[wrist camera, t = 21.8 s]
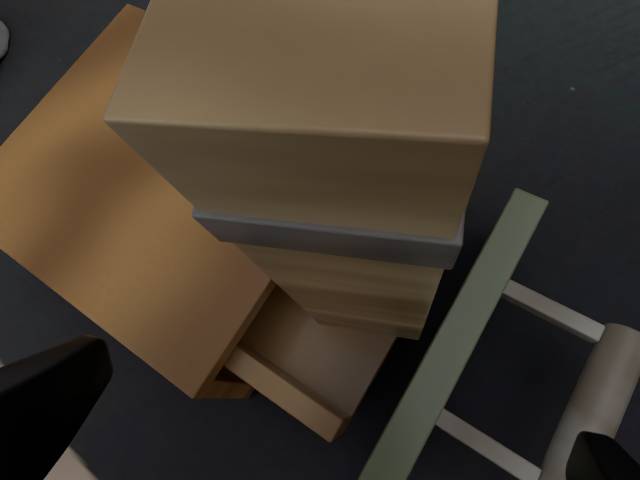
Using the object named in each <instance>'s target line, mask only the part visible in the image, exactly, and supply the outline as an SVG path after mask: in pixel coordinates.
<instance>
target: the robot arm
mask: <svg viewBox="0 0 640 480" xmlns="http://www.w3.org/2000/svg"><path fill="white" fill-rule="evenodd" d="M112 374H113V365H112V361H111V357H110V353H109V349H108V346H107V342H106V341H105V340H104V339H103V338H101V337H96V336H91V335H83V336H80V337H77V338H75V339H72V340H70V341H67V342H65V343H62V344H60V345H57V346H54V347H52V348H49V349H47V350H44V351H42V352H39V353H37V354H34V355H31V356H29V357H26V358H24V359H21V360H19V361H16V362H13V363H11V364H8V365H6V366H3V367H1V368H0V480H43V479H44V478H45V477H46V476H47V474H48V473H49V472H50V470H51V469H52V467H53V466H54V465H55V463H56V462H57V461H58V460H59V458H60V457H61V456H62V454H63V453H64V451H65V450H66V449H67V447H68V446H69V444H70V443H71V441H72V440H73V438H74V437H75V435H76V434H77V432H78V430H79V429H80V427H81V426H82V424H83V423H84V421H85V419H86V418H87V416H88V415H89V413H90V411H91V410H92V408H93V407H94V405H95V404H96V402H97V400H98V399H99V397H100V396H101V394H102V392H103V391H104V389H105V388H106V386H107V384H108V383H109V381H110V379H111V377H112ZM565 476H566V480H640V465H639V464H638V463H637V462H636V461H635V460H634V459H633V458H632V457H631V456H630V455H629V454H628V453H627V452H626V451H625V450H624V449H623V448H622V447H621V446H620V445H619V444H618V443H617V442H616V441H615V440H614V439H613V438H611V437H610V436H608V435H605V434H599V433H594V432H589V431H581V432H580V433H579V434H578V435H577V437H576V440H575V442H574V445H573V448H572V450H571V453H570V456H569V458H568V461H567V464H566V471H565Z"/></svg>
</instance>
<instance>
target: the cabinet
mask: <svg viewBox="0 0 640 480" xmlns="http://www.w3.org/2000/svg"><path fill="white" fill-rule="evenodd" d="M145 13H146V11H145V10H142V9H139V8H137V7H134V6H132V5H129V4H127V5H126V6H125V7H124V8H123V9H122V10H121V12H120V13H119V14H118V15H117V16H116V17H115V18H114V19H113V21H112V22H111V23H110V24H109V25H108V26H107V27H106V28H105V30H104V31H103V32H102V33H101V34H100V35H99V36H98V37H97V39H96V40H95V41H94V42H93V43H92V44H91V45H90V46H89V48H88V49H87V50H86V51H85V52H84V53H83V54H82V55H81V57H80V58H79V59H78V60H77V61H76V62H75V63H74V64H73V66H72V67H71V68H70V69H69V70H68V71H67V72H66V73H65V75H64V76H63V77H62V78H61V79H60V80H59V81H58V82H57V83H56V85H55V86H54V87H53V88H52V89H51V90H50V91H49V92H48V94H47V95H46V96H45V97H44V98H43V99H42V100H41V101H40V103H39V104H38V105H37V106H36V107H35V108H34V109H33V110H32V112H31V113H30V114H29V115H28V116H27V117H26V118H25V119H24V121H23V122H22V123H21V124H20V125H19V126H18V127H17V128H16V130H15V131H14V132H13V133H12V134H11V135H10V136H9V137H8V139H7V140H6V141H5V142H4V143H3V144H2V145H1V146H0V249H1V250H3V251H4V252H5V253H7V254H8V255H9V256H10V257H12V258H13V259H14V260H16V261H17V262H18V263H19V264H21V265H22V266H23V267H24V268H26V269H27V270H28V271H30V272H31V273H32V274H33V275H35V276H36V277H37V278H39V279H40V280H41V281H42V282H44V283H45V284H46V285H47V286H49V287H50V288H51V289H53V290H54V291H55V292H56V293H58V294H59V295H60V296H61V297H63V298H64V299H65V300H67V301H68V302H69V303H70V304H72V305H73V306H74V307H76V308H77V309H78V310H79V311H81V312H82V313H83V314H84V315H86V316H87V317H88V318H90V319H91V320H92V321H93V322H95V323H96V324H97V325H98V326H100V327H101V328H102V329H104V330H105V331H106V332H107V333H109V334H110V335H111V336H113V337H114V338H115V339H116V340H118V341H119V342H120V343H121V344H123V345H124V346H125V347H127V348H128V349H129V350H130V351H132V352H133V353H134V354H136V355H137V356H138V357H139V358H141V359H142V360H143V361H144V362H146V363H147V364H148V365H150V366H151V367H152V368H153V369H155V370H156V371H157V372H158V373H160V374H161V375H162V376H164V377H165V378H166V379H167V380H169V381H170V382H171V383H173V384H174V385H175V386H176V387H178V388H179V389H180V390H181V391H183V392H184V393H185V394H187V395H188V396H189V397H190V398H192V399H201V398H202V399H248V398H249V397H250V395H251V394H252V392H253V391H254V389H255V388H253V387H252V386H251V385H249V384H248V383H246V382H245V381H244V380H242V379H241V378H239V377H238V376H237V375H235V374H234V373H233V372H231V371H230V370H228V369H227V368H226V367H224V366H223V365H224V364H225V362H226V361H227V359H228V358H229V356H230V354H231V353H232V351H233V350H234V348H235V347H236V345H237V344H238V342H239V341H240V339H241V338H242V336H243V334H244V333H245V331H246V330H247V328H248V327H249V325H250V324H251V322H252V321H253V319H254V318H255V316H256V315H257V313H258V311H259V310H260V308H261V307H262V305H263V304H264V302H265V301H266V299H267V298H268V296H269V295H270V293H271V292H272V290H273V288H274V287H275V285H276V283H275V282H274V281H273V280H272V279H271V278H270V277H269V276H268V275H267V274H265V273H264V272H263V271H262V270H261V269H260V268H259V267H258V266H257V265H256V264H255V263H254V262H253V261H252V260H251V259H250V258H248V257H247V256H246V255H245V254H244V253H243V252H242V251H241V250H240V249H239V248H238V247H237V246H236V245H235V244H234V243H229V242H221V241H219V240H218V239H217V238H215V237H214V236H213V235H212V234H211V233H210V232H209V231H207V230H206V229H205V228H204V227H203V226H202V225H201V224H199V223H198V222H197V221H196V220H195V219H194V218H193V217H192V211H193V207H194V206H193V205H192V204H191V203H190V202H189V201H188V200H187V199H186V198H185V197H183V196H182V195H181V194H180V193H179V192H178V191H177V190H176V189H175V188H174V187H173V186H172V185H171V184H170V183H169V182H168V181H166V180H165V179H164V178H163V177H162V176H161V175H160V174H159V173H158V172H157V171H156V170H155V169H154V168H153V167H152V166H150V165H149V164H148V163H147V162H146V161H145V160H144V159H143V158H142V157H141V156H140V155H139V154H138V153H137V152H136V151H134V150H133V149H132V148H131V147H130V146H129V145H128V144H127V143H126V142H125V141H124V140H123V139H122V138H121V137H120V136H119V135H117V134H116V133H115V132H114V131H113V130H112V129H111V128H110V127H109V126H108V125H107V124H106V123H105V122H104V121H103V114H104V112H105V110H106V107H107V105H108V102H109V100H110V97H111V95H112V93H113V90H114V88H115V85H116V83H117V80H118V78H119V76H120V73H121V71H122V68H123V66H124V64H125V61H126V59H127V56H128V54H129V51H130V49H131V47H132V44H133V42H134V39H135V37H136V34H137V32H138V30H139V27H140V25H141V22H142V20H143V17H144V15H145Z"/></svg>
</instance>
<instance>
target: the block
mask: <svg viewBox="0 0 640 480" xmlns="http://www.w3.org/2000/svg"><path fill="white" fill-rule="evenodd" d="M498 2H499V0H150V3H149V5H148V8H147V10H146V13H145V15H144V17H143V20H142V22H141V25H140V27H139V30H138V32H137V34H136V37H135V39H134V42H133V44H132V47H131V49H130V51H129V54H128V56H127V59H126V61H125V64H124V66H123V68H122V71H121V73H120V76H119V78H118V80H117V83H116V85H115V88H114V90H113V93H112V95H111V97H110V100H109V102H108V105H107V107H106V110H105V112H104V114H103V121H104V122H105V123H106V124H107V125H108V126H109V127H110V128H111V129H112V130H113V131H114V132H115V133H116V134H117V135H119V136H120V137H121V138H122V139H123V140H124V141H125V142H126V143H127V144H128V145H129V146H130V147H131V148H132V149H133V150H134V151H136V152H137V153H138V154H139V155H140V156H141V157H142V158H143V159H144V160H145V161H146V162H147V163H148V164H149V165H150V166H152V167H153V168H154V169H155V170H156V171H157V172H158V173H159V174H160V175H161V176H162V177H163V178H164V179H165V180H166V181H168V182H169V183H170V184H171V185H172V186H173V187H174V188H175V189H176V190H177V191H178V192H179V193H180V194H181V195H182V196H183V197H185V198H186V199H187V200H188V201H189V202H190V203H191V204H192V205H193V206H194V207H193V211H192V217H193V218H194V219H195V220H196V221H197V222H198V223H199V224H201V225H202V226H203V227H204V228H205V229H206V230H207V231H209V232H210V233H211V234H212V235H213V236H214V237H215V238H217V239H218V240H219V241H221V242H229V243H234V244H235V245H236V246H237V247H238V248H239V249H240V250H241V251H242V252H243V253H244V254H245V255H246V256H247V257H248V258H250V259H251V260H252V261H253V262H254V263H255V264H256V265H257V266H258V267H259V268H260V269H261V270H262V271H263V272H264V273H265V274H267V275H268V276H269V277H270V278H271V279H272V280H273V281H274V282H275V283H276V284H277V285H278V286H279V287H280V288H281V289H283V290H284V291H285V292H286V293H287V294H288V295H289V296H290V297H291V298H292V299H293V300H294V301H295V302H296V303H297V304H298V305H300V306H301V307H302V308H303V309H304V310H305V311H306V312H307V313H308V314H309V315H310V316H311V317H312V318H313V319H314V320H316V321H317V322H318V323H319V324H323V325H329V326H335V327H341V328H347V329H353V330H360V331H366V332H372V333H378V334H384V335H390V336H397V337H403V338H409V339H415V340H419V339H420V336H421V333H422V330H423V327H424V325H425V322H426V319H427V316H428V313H429V310H430V308H431V305H432V302H433V299H434V296H435V294H436V291H437V288H438V285H439V282H440V280H441V277H442V274H443V271H444V269H448V270H451V269H453V267H454V264H455V262H456V259H457V257H458V255H459V252H460V250H461V248H462V245H463V236H464V223H465V210H466V206H467V204H468V201H469V198H470V195H471V192H472V189H473V187H474V184H475V181H476V178H477V175H478V173H479V170H480V167H481V164H482V161H483V158H484V156H485V153H486V150H487V147H488V144H489V142H490V134H491V117H492V101H493V84H494V68H495V52H496V35H497V19H498Z"/></svg>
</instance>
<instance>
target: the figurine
mask: <svg viewBox="0 0 640 480" xmlns="http://www.w3.org/2000/svg"><path fill="white" fill-rule="evenodd" d="M9 36H10V33H9V30H8V28H7V27H6V26H5V24H4V23H3V22H2V21H1V20H0V59H1V58H2V57H4V55H5V54H6V52H7V50H8V41H9Z"/></svg>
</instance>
